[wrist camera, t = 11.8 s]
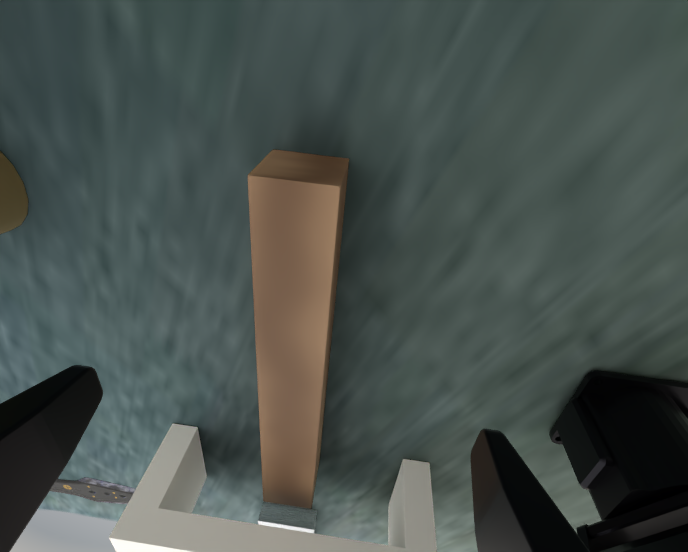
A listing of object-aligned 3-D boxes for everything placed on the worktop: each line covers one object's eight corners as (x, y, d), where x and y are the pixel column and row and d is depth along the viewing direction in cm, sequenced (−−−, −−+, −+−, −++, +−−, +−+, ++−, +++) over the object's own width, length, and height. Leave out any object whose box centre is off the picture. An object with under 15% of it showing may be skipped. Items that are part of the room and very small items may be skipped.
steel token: (317, 506, 35) (314, 529, 33) (315, 531, 38) (311, 554, 36) (264, 497, 35) (257, 520, 34) (265, 523, 38) (259, 545, 36)
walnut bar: (349, 156, 18) (339, 186, 14) (320, 456, 31) (311, 508, 27) (274, 147, 18) (247, 175, 14) (277, 450, 31) (263, 501, 27)
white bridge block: (429, 462, 29) (440, 592, 22) (411, 508, 33) (416, 631, 26) (172, 423, 30) (108, 537, 23) (184, 472, 34) (133, 583, 27)
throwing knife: (-13, 459, 37) (-19, 465, 36) (190, 489, 36) (188, 496, 35) (5, 483, 39) (0, 489, 38) (197, 512, 38) (194, 519, 38)
